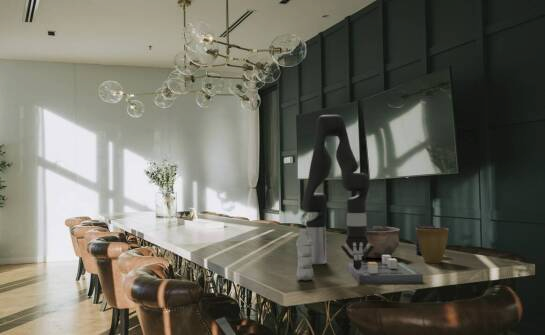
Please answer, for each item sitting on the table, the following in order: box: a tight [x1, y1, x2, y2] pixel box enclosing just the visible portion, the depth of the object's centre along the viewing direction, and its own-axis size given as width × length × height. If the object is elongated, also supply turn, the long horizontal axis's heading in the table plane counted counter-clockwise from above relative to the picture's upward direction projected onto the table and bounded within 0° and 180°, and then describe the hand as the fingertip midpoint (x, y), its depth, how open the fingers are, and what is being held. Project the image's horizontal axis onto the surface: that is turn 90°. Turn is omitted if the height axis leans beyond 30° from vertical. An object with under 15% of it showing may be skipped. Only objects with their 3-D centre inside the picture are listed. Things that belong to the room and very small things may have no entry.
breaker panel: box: [347, 262, 424, 284], centre depth 195 cm, size 24×28×3 cm
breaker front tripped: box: [367, 261, 378, 274], centre depth 185 cm, size 3×4×4 cm
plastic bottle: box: [295, 228, 315, 282], centre depth 188 cm, size 6×7×20 cm
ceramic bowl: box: [362, 225, 400, 259], centre depth 242 cm, size 22×22×15 cm
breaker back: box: [381, 255, 392, 264], centre depth 205 cm, size 3×4×3 cm
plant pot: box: [415, 227, 450, 264], centre depth 227 cm, size 15×15×16 cm
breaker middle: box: [387, 257, 398, 269], centre depth 195 cm, size 3×4×3 cm
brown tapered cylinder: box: [415, 224, 436, 257], centre depth 250 cm, size 10×10×15 cm
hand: (357, 269), depth 185 cm, fingers closed
